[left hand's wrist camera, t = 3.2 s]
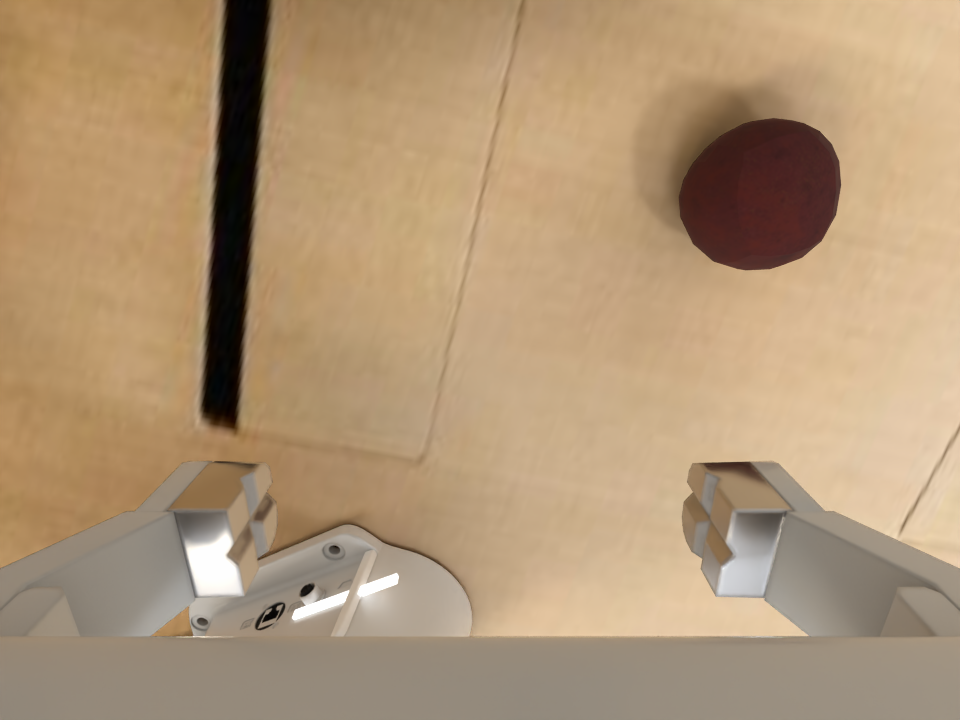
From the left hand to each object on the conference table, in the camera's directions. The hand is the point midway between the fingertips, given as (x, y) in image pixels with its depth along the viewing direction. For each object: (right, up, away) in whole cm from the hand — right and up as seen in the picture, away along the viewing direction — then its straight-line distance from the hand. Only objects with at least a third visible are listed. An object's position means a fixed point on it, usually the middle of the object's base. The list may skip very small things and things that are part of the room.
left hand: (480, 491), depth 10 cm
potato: (+14, +12, +21) cm, 28 cm away
